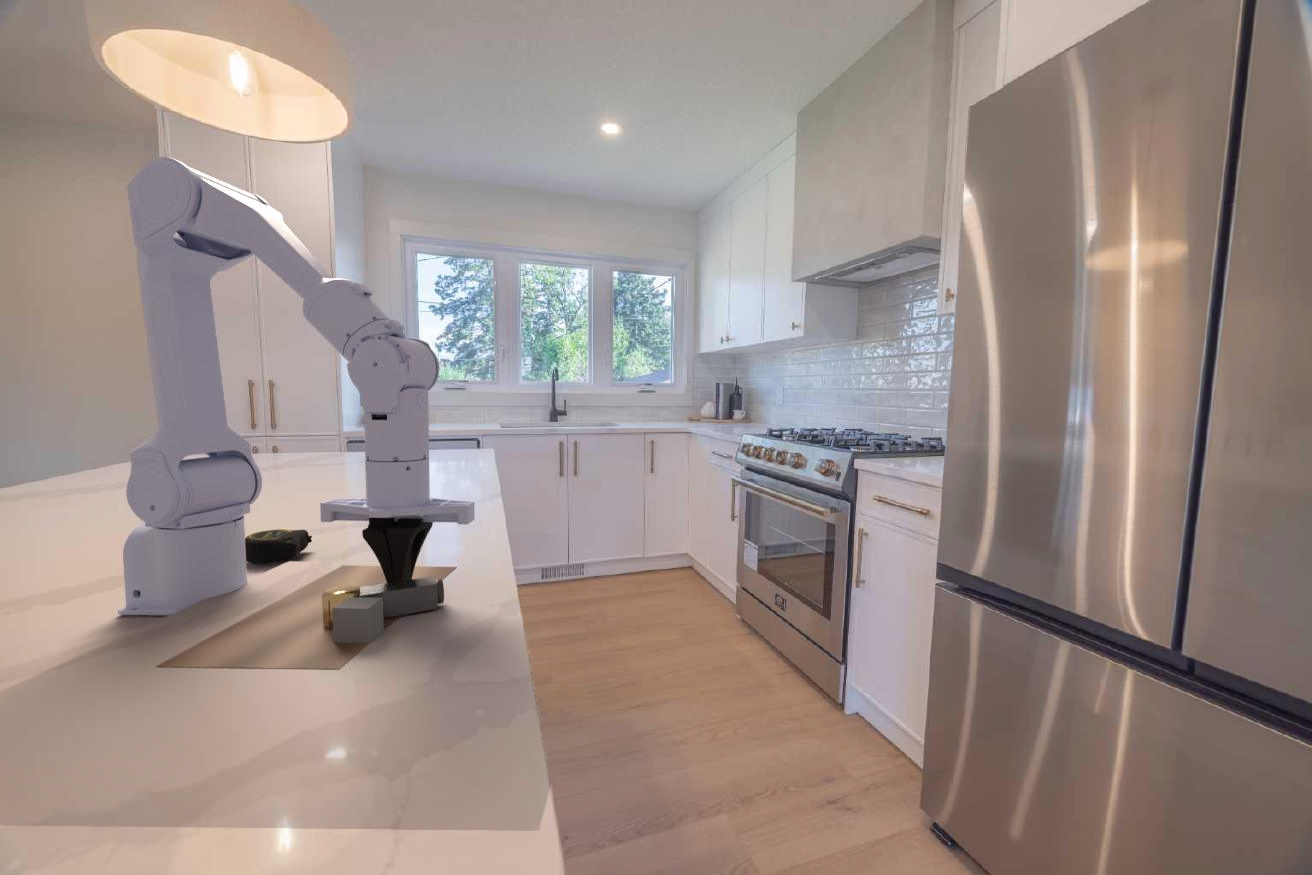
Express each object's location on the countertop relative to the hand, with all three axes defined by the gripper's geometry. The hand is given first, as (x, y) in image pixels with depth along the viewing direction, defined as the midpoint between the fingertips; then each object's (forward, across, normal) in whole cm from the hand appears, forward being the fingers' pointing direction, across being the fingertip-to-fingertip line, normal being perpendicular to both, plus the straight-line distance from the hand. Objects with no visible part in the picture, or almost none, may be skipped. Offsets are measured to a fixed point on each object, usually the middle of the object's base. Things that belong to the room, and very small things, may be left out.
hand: (400, 591), depth 53 cm
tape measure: (+3, -25, +18) cm, 31 cm away
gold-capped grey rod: (+1, 0, -3) cm, 3 cm away
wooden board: (+3, -5, -1) cm, 6 cm away
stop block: (+1, 0, -8) cm, 8 cm away
